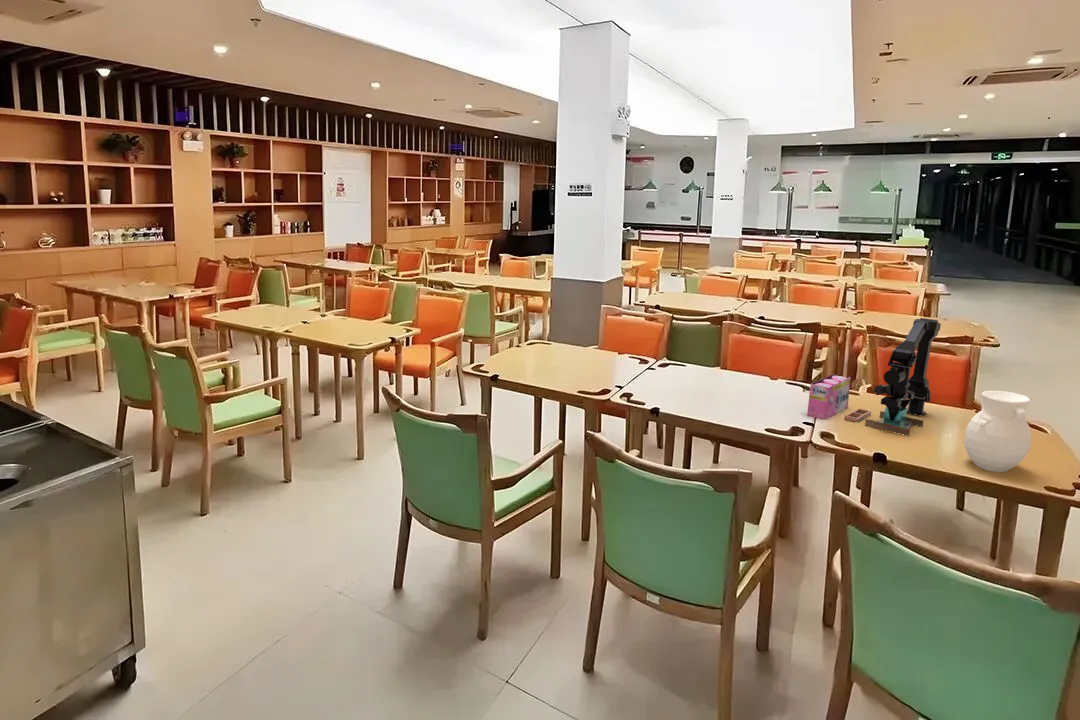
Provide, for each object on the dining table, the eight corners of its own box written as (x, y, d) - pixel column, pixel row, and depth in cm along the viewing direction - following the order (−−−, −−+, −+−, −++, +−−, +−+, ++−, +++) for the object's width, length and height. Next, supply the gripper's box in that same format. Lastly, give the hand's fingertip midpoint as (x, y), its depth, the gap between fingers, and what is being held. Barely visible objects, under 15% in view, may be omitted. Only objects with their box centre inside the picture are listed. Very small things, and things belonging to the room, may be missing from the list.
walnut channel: (880, 416, 285) (881, 411, 284) (922, 426, 274) (923, 420, 273) (864, 425, 274) (865, 419, 273) (908, 436, 263) (909, 429, 262)
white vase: (1039, 477, 226) (1053, 403, 220) (985, 478, 225) (998, 404, 219) (998, 455, 244) (1010, 387, 238) (947, 456, 243) (959, 387, 237)
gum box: (830, 403, 302) (834, 373, 299) (849, 407, 297) (853, 376, 293) (806, 415, 286) (809, 383, 282) (825, 420, 280) (829, 387, 277)
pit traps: (858, 412, 290) (858, 408, 289) (870, 415, 286) (871, 411, 286) (844, 419, 280) (844, 415, 280) (856, 422, 277) (857, 418, 276)
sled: (886, 418, 281) (889, 401, 280) (913, 424, 274) (915, 407, 273) (874, 425, 273) (876, 408, 271) (901, 432, 266) (904, 414, 264)
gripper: (887, 372, 281) (882, 409, 285) (869, 380, 268) (864, 419, 272) (917, 377, 273) (911, 415, 277) (900, 386, 261) (894, 426, 264)
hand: (894, 418), depth 273 cm, fingers closed on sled, 6 cm apart
